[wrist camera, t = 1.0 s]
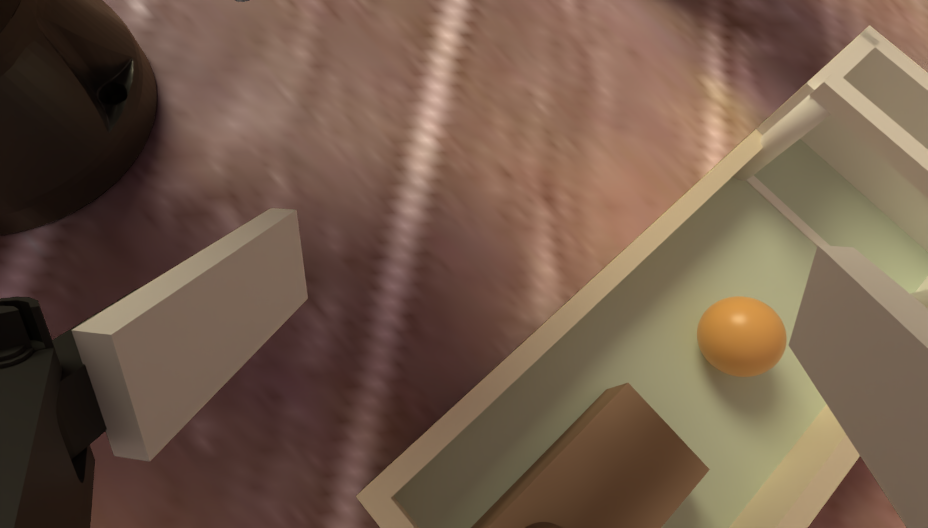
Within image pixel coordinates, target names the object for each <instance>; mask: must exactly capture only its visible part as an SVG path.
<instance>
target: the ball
mask: <svg viewBox="0 0 928 528" xmlns="http://www.w3.org/2000/svg"><path fill="white" fill-rule="evenodd" d="M697 341H698V345H699V348H700V350H701V352H702V354H703V356H704V357H705V358H706V360H707V361H708V362H709V363H710V364H711V365H712V366H714V367H715V368H716V369H718V370H720V371H721V372H724V373H726V374H729V375H732V376H738V377H751V376H756V375H760V374H763V373H765V372H767V371H768V370H770V369H771V368H773V367H774V366H775V365H776V364H777V363H778V362H779V361H780V359H781V358H782V356H783V354H784V351H785V348H786V343H787V335H786V329H785V326H784V324H783V322H782V320H781V318H780V317H779V315H778V314H777V313H776V312H775V311H774V310H773V309H772V308H771V307H770V306H768V305H767V304H765V303H763V302H762V301H759V300H757V299H754V298H750V297H744V296H735V297H728V298H725V299H722V300H720V301H717V302H716V303H714V304H713V305H711V306H710V307H709V308H708V309H707V310H706V311H705V312H704V313H703V315H702V317H701V319H700V321H699V323H698V328H697Z"/></svg>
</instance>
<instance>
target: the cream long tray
mask: <svg viewBox="0 0 928 528" xmlns="http://www.w3.org/2000/svg"><path fill="white" fill-rule="evenodd" d="M818 245H825V246H839V247H854V248H855V249H856V250H857V251H859V252H860V253H861V254H862V255H863V256H865V257H866V258H867V259H868V260H870V261H871V262H872V263H873V264H874V265H876V266H877V267H878V268H879V269H880V270H882V271H883V272H884V273H885V274H887V275H888V276H889V277H890V278H891V279H893V280H894V281H895V282H896V283H897V284H899V285H900V286H901V287H902V288H904V289H905V290H906V291H907V292H908V293H910V294H911V295H912V296H913V297H914V298H916V299H917V300H918V301H919V302H920V303H922V304H923V305H924V306H925V307H927V308H928V73H927V72H926V71H925V70H924V69H923V68H921V67H920V66H919V65H918V64H916V63H915V62H914V61H913V60H912V59H910V58H909V57H908V56H907V55H905V54H904V53H903V52H902V51H900V50H899V49H898V48H897V47H896V46H894V45H893V44H892V43H891V42H889V41H888V40H887V39H886V38H885V37H883V36H882V35H881V34H880V33H878V32H877V31H876V30H875V29H874V28H872V27H871V26H870V25H869V26H868V27H867V28H866V29H865V30H864V31H863V32H862V33H861V34H859V35H858V36H857V37H856V38H855V39H854V40H853V41H852V42H851V43H850V44H848V45H847V46H846V47H845V48H844V49H843V50H842V51H841V52H840V53H839V54H837V55H836V56H835V57H834V58H833V59H832V60H831V61H830V62H829V63H828V64H827V65H825V66H824V67H823V68H822V69H821V70H820V71H819V72H818V73H817V74H816V75H814V76H813V77H812V78H811V79H810V80H809V81H808V82H807V83H806V84H805V85H803V86H802V87H801V88H800V89H799V90H798V91H797V92H796V93H795V94H794V95H792V96H791V97H790V98H789V99H788V100H787V101H786V102H785V103H784V104H783V105H781V106H780V107H779V108H778V109H777V110H776V111H775V112H774V113H773V114H772V115H771V116H769V117H768V118H767V119H766V120H765V121H764V122H763V123H762V124H761V125H760V126H759V127H757V128H756V129H755V130H754V131H753V132H752V133H751V134H750V135H749V136H748V137H747V138H745V139H744V140H743V141H742V142H741V143H740V144H739V145H738V146H737V147H736V148H735V149H733V150H732V151H731V152H730V153H729V154H728V155H727V156H726V157H725V158H724V159H723V160H721V161H720V162H719V163H718V164H717V165H716V166H715V167H714V168H713V169H712V170H711V171H709V172H708V173H707V174H706V175H705V176H704V177H703V178H702V179H701V180H700V181H699V182H697V183H696V184H695V185H694V186H693V187H692V188H691V189H690V190H689V191H688V192H687V193H685V194H684V195H683V196H682V197H681V198H680V199H679V200H678V201H677V202H676V203H675V204H673V205H672V206H671V207H670V208H669V209H668V210H667V211H666V212H665V213H664V214H663V215H661V216H660V217H659V218H658V219H657V220H656V221H655V222H654V223H653V224H652V225H651V226H649V227H648V228H647V229H646V230H645V231H644V232H643V233H642V234H641V235H640V236H639V237H637V238H636V239H635V240H634V241H633V242H632V243H631V244H630V245H629V246H628V247H627V248H625V249H624V250H623V251H622V252H621V253H620V254H619V255H618V256H617V257H616V258H615V259H613V260H612V261H611V262H610V263H609V264H608V265H607V266H606V267H605V268H604V269H603V270H601V271H600V272H599V273H598V274H597V275H596V276H595V277H594V278H593V279H592V280H591V281H589V282H588V283H587V284H586V285H585V286H584V287H583V288H582V289H581V290H580V291H579V292H577V293H576V294H575V295H574V296H573V297H572V298H571V299H570V300H569V301H568V302H567V303H565V304H564V305H563V306H562V307H561V308H560V309H559V310H558V311H557V312H556V313H555V314H553V315H552V316H551V317H550V318H549V319H548V320H547V321H546V322H545V323H544V324H543V325H541V326H540V327H539V328H538V329H537V330H536V331H535V332H534V333H533V334H532V335H531V336H529V337H528V338H527V339H526V340H525V341H524V342H523V343H522V344H521V345H520V346H519V347H517V348H516V349H515V350H514V351H513V352H512V353H511V354H510V355H509V356H508V357H507V358H505V359H504V360H503V361H502V362H501V363H500V364H499V365H498V366H497V367H496V368H495V369H493V370H492V371H491V372H490V373H489V374H488V375H487V376H486V377H485V378H484V379H483V380H482V381H480V382H479V383H478V384H477V385H476V386H475V387H474V388H473V389H472V390H471V391H470V392H468V393H467V394H466V395H465V396H464V397H463V398H462V399H461V400H460V401H459V402H458V403H456V404H455V405H454V406H453V407H452V408H451V409H450V410H449V411H448V412H447V413H446V414H444V415H443V416H442V417H441V418H440V419H439V420H438V421H437V422H436V423H435V424H434V425H432V426H431V427H430V428H429V429H428V430H427V431H426V432H425V433H424V434H423V435H422V436H420V437H419V438H418V439H417V440H416V441H415V442H414V443H413V444H412V445H411V446H410V447H408V448H407V449H406V450H405V451H404V452H403V453H402V454H401V455H400V456H399V457H398V458H396V459H395V460H394V461H393V462H392V463H391V464H390V465H389V466H388V467H387V468H386V469H384V470H383V471H382V472H381V473H380V474H379V475H378V476H377V477H376V478H375V479H374V480H372V481H371V482H370V483H369V484H368V485H367V486H366V487H365V488H364V489H363V490H362V491H361V492H359V493H358V494H357V495H356V498H357V499H358V500H359V501H360V503H361V504H362V505H363V506H364V508H365V509H366V510H367V512H368V513H369V514H370V515H371V517H372V518H373V519H374V520H375V522H376V523H377V524H378V526H379V527H380V528H471V527H472V526H473V525H474V524H475V523H476V522H477V521H478V520H479V519H480V518H481V517H482V516H483V515H484V514H485V513H486V512H487V511H488V510H489V509H490V507H491V506H492V505H493V504H494V503H495V502H496V501H497V500H498V499H499V498H500V497H501V496H502V495H503V494H504V493H505V492H506V491H507V490H508V489H509V488H510V487H511V486H512V485H513V484H514V483H515V482H516V481H517V480H518V479H519V478H520V477H521V476H522V475H523V474H524V473H525V472H526V471H527V470H528V469H529V468H530V467H531V466H532V465H533V464H534V463H535V462H536V461H537V460H538V459H539V457H540V456H541V455H542V454H543V453H544V452H545V451H546V450H547V449H548V448H549V447H550V446H551V445H552V444H553V443H554V442H555V441H556V440H557V439H558V438H559V437H560V436H561V435H562V434H563V433H564V432H565V431H566V430H567V429H568V428H569V427H570V426H571V425H572V424H573V423H574V422H575V421H576V420H577V419H578V418H579V417H580V416H581V415H582V414H583V413H584V412H585V411H586V410H587V409H588V408H589V406H590V405H591V404H592V403H593V402H594V401H595V400H596V399H597V398H598V397H599V396H600V395H601V394H602V393H603V392H604V391H605V390H606V389H609V388H612V387H616V386H619V385H622V384H625V383H629V384H630V385H631V386H632V387H633V388H634V389H635V390H636V391H637V392H638V393H639V394H640V396H641V397H642V398H643V399H644V400H645V401H646V402H647V403H648V404H649V405H650V406H651V407H652V408H653V409H654V410H655V412H656V413H657V414H658V415H659V416H660V417H661V418H662V419H663V420H664V421H665V422H666V423H667V424H668V425H669V426H670V428H671V429H672V430H673V431H674V432H675V433H676V434H677V435H678V436H679V437H680V438H681V439H682V440H683V441H684V442H685V443H686V445H687V446H688V447H689V448H690V449H691V450H692V451H693V452H694V453H695V454H696V455H697V456H698V457H699V458H700V459H701V461H702V462H703V463H704V464H705V465H706V466H707V467H708V468H709V469H710V470H709V471H708V472H707V474H706V475H705V476H704V477H703V478H702V480H701V481H700V482H699V483H698V484H697V486H696V487H695V488H694V489H693V490H692V492H691V493H690V494H689V495H688V496H687V497H686V499H685V500H684V501H683V502H682V503H681V505H680V506H679V507H678V508H677V509H676V511H675V512H674V513H673V514H672V515H671V517H670V518H669V519H668V520H667V521H666V522H665V524H664V525H663V526H662V527H661V528H808V526H809V525H810V524H811V522H812V521H813V520H814V518H815V517H816V516H817V514H818V513H819V511H820V510H821V509H822V507H823V506H824V505H825V503H826V502H827V500H828V499H829V498H830V496H831V495H832V494H833V492H834V491H835V490H836V488H837V487H838V485H839V484H840V483H841V481H842V480H843V479H844V477H845V476H846V475H847V473H848V472H849V470H850V469H851V468H852V466H853V465H854V464H855V462H856V461H857V459H858V458H859V457H860V455H859V453H858V452H857V450H856V449H855V447H854V446H853V444H852V443H851V441H850V439H849V438H848V436H847V435H846V433H845V432H844V430H843V429H842V427H841V426H840V424H839V422H838V421H837V419H836V418H835V416H834V415H833V413H832V412H831V410H830V409H829V407H828V405H827V404H826V402H825V401H824V399H823V398H822V396H821V395H820V393H819V392H818V390H817V388H816V387H815V385H814V384H813V382H812V381H811V379H810V378H809V376H808V375H807V373H806V371H805V370H804V368H803V367H802V365H801V364H800V362H799V361H798V359H797V358H796V356H795V354H794V353H793V351H792V350H791V348H790V347H789V342H790V338H791V335H792V331H793V328H794V324H795V321H796V318H797V314H798V311H799V307H800V304H801V300H802V297H803V294H804V290H805V287H806V283H807V280H808V276H809V273H810V270H811V266H812V263H813V259H814V256H815V252H816V249H817V246H818ZM735 296H744V297H750V298H754V299H757V300H759V301H762V302H763V303H765V304H767V305H768V306H770V307H771V308H772V309H773V310H774V311H775V312H776V313H777V314H778V315H779V317H780V318H781V320H782V322H783V324H784V326H785V329H786V335H787V343H786V348H785V351H784V354H783V356H782V358H781V359H780V361H779V362H778V363H777V364H776V365H775V366H774V367H773V368H771V369H770V370H768V371H767V372H765V373H763V374H760V375H756V376H751V377H738V376H732V375H729V374H726V373H724V372H721V371H720V370H718V369H716V368H715V367H714V366H712V365H711V364H710V363H709V362H708V361H707V360H706V358H705V357H704V356H703V354H702V352H701V350H700V348H699V345H698V341H697V328H698V323H699V321H700V319H701V317H702V315H703V313H704V312H705V311H706V310H707V309H708V308H709V307H710V306H711V305H713V304H714V303H716V302H717V301H720V300H722V299H725V298H728V297H735Z"/></svg>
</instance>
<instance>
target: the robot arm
mask: <svg viewBox="0 0 928 528" xmlns="http://www.w3.org/2000/svg"><path fill="white" fill-rule="evenodd" d="M235 1H237V2H245V1H249V0H235ZM156 105H157V91H156V83H155V78H154V74H153V71H152V68H151V66H150V63H149V61H148V59H147V57H146V55H145V54H144V52H143V51H142V49H141V48H140V46H139V44H138V43H137V41H136V40H135V38H134V37H133V35H132V34H131V32H130V30H129V29H128V27H127V26H126V25H125V23H124V22H123V21H122V19H121V18H120V17H119V16H118V15H117V14H116V13H115V12H114V11H113V10H112V9H111V8H110V7H109V6H108V5H107V4H106V3H105V2H104V1H102V0H0V235H4V234H10V233H16V232H20V231H24V230H29V229H32V228H35V227H39V226H42V225H45V224H48V223H50V222H53V221H55V220H58V219H60V218H63V217H65V216H67V215H69V214H71V213H73V212H75V211H76V210H78V209H80V208H82V207H84V206H85V205H87V204H88V203H90V202H91V201H93V200H94V199H96V198H97V197H99V196H100V195H101V194H103V193H104V192H105V191H106V190H108V189H109V188H110V187H111V186H112V185H113V184H114V183H115V182H116V181H118V180H119V179H120V178H121V177H122V175H123V174H124V173H125V172H126V171H127V170H128V169H129V167H130V166H131V165H132V164H133V162H134V161H135V160H136V158H137V157H138V155H139V154H140V152H141V150H142V149H143V147H144V145H145V143H146V141H147V139H148V137H149V134H150V131H151V129H152V126H153V122H154V118H155V113H156ZM307 299H308V294H307V287H306V279H305V271H304V263H303V256H302V248H301V240H300V232H299V225H298V217H297V210H294V209H280V208H270V209H268V210H267V211H265V212H263V213H262V214H260V215H259V216H257V217H255V218H254V219H252V220H250V221H249V222H247V223H245V224H244V225H242V226H241V227H239V228H237V229H236V230H234V231H232V232H231V233H229V234H228V235H226V236H224V237H223V238H221V239H219V240H218V241H216V242H214V243H213V244H211V245H210V246H208V247H206V248H205V249H203V250H201V251H200V252H198V253H196V254H195V255H193V256H192V257H190V258H188V259H187V260H185V261H183V262H182V263H180V264H179V265H177V266H175V267H174V268H172V269H170V270H169V271H167V272H165V273H164V274H162V275H161V276H159V277H157V278H156V279H154V280H152V281H151V282H149V283H148V284H146V285H144V286H143V287H141V288H138V289H136V290H134V291H132V292H131V293H129V294H127V295H126V296H124V297H122V298H121V299H119V300H118V301H117V302H116V303H113V304H111V305H109V306H108V307H106V308H104V309H103V310H102V312H100V313H96V314H95V315H93V316H91V317H90V318H88V319H86V320H85V321H83V322H81V323H80V324H78V325H77V326H75V327H73V328H72V329H70V330H68V331H67V332H65V333H63V334H62V335H60V336H59V337H57V338H55V339H54V340H52V339H51V336H50V333H49V331H48V328H47V325H46V322H45V319H44V317H43V314H42V311H41V308H40V306H39V303H38V300H35V299H32V298H30V297H11V298H2V299H0V528H90V521H91V508H92V494H93V480H94V466H95V459H94V456H93V453H92V450H91V447H90V444H91V443H92V442H93V441H94V440H95V439H97V438H98V437H99V436H100V435H101V434H102V433H103V432H105V431H106V434H107V437H108V440H109V443H110V446H111V448H112V451H113V454H114V456H118V457H124V458H130V459H136V460H143V461H149V462H150V461H151V460H152V459H153V458H154V457H155V456H156V455H157V454H158V453H159V452H160V451H161V450H162V449H163V448H164V447H165V446H166V444H167V443H168V442H169V441H170V440H171V439H172V438H173V437H174V436H175V435H176V434H177V433H178V432H179V431H180V430H181V429H182V428H183V427H184V426H185V425H186V424H187V423H188V422H189V421H190V420H191V419H192V418H193V417H194V416H195V415H196V414H197V412H198V411H199V410H200V409H201V408H202V407H203V406H204V405H205V404H206V403H207V402H208V401H209V400H210V399H211V398H212V397H213V396H214V395H215V394H216V393H217V392H218V391H219V390H220V389H221V388H222V387H223V386H224V385H225V384H226V383H227V382H228V380H229V379H230V378H231V377H232V376H233V375H234V374H235V373H236V372H237V371H238V370H239V369H240V368H241V367H242V366H243V365H244V364H245V363H246V362H247V361H248V360H249V359H250V358H251V357H252V356H253V355H254V354H255V353H256V352H257V351H258V350H259V349H260V347H261V346H262V345H263V344H264V343H265V342H266V341H267V340H268V339H269V338H270V337H271V336H272V335H273V334H274V333H275V332H276V331H277V330H278V329H279V328H280V327H281V326H282V325H283V324H284V323H285V322H286V321H287V320H288V319H289V318H290V317H291V315H292V314H293V313H294V312H295V311H296V310H297V309H298V308H299V307H300V306H301V305H302V304H303V303H304V302H305V301H306V300H307ZM789 347H790V348H791V350H792V351H793V353H794V354H795V356H796V358H797V359H798V361H799V362H800V364H801V365H802V367H803V368H804V370H805V371H806V373H807V375H808V376H809V378H810V379H811V381H812V382H813V384H814V385H815V387H816V388H817V390H818V392H819V393H820V395H821V396H822V398H823V399H824V401H825V402H826V404H827V405H828V407H829V409H830V410H831V412H832V413H833V415H834V416H835V418H836V419H837V421H838V422H839V424H840V426H841V427H842V429H843V430H844V432H845V433H846V435H847V436H848V438H849V439H850V441H851V443H852V444H853V446H854V447H855V449H856V450H857V452H858V453H859V455H860V456H861V458H862V460H863V461H864V463H865V464H866V466H867V467H868V469H869V470H870V472H871V473H872V475H873V477H874V478H875V480H876V481H877V483H878V484H879V486H880V487H881V489H882V490H883V492H884V493H885V495H886V497H887V498H888V500H889V501H890V503H891V504H892V506H893V507H894V509H895V510H896V512H897V514H898V515H899V517H900V518H901V520H902V521H903V523H904V524H905V526H906V527H907V528H928V308H927V307H925V306H924V305H923V304H922V303H920V302H919V301H918V300H917V299H916V298H914V297H913V296H912V295H911V294H910V293H908V292H907V291H906V290H905V289H904V288H902V287H901V286H900V285H899V284H897V283H896V282H895V281H894V280H893V279H891V278H890V277H889V276H888V275H887V274H885V273H884V272H883V271H882V270H880V269H879V268H878V267H877V266H876V265H874V264H873V263H872V262H871V261H870V260H868V259H867V258H866V257H865V256H863V255H862V254H861V253H860V252H859V251H857V250H856V249H855V248H854V247H839V246H825V245H818V246H817V249H816V252H815V256H814V259H813V263H812V266H811V270H810V273H809V276H808V280H807V283H806V287H805V290H804V294H803V297H802V300H801V304H800V307H799V311H798V314H797V318H796V321H795V324H794V328H793V331H792V335H791V338H790V342H789Z"/></svg>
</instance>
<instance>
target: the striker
mask: <svg viewBox="0 0 928 528" xmlns="http://www.w3.org/2000/svg"><path fill="white" fill-rule="evenodd" d="M709 470H710V469H709V468H708V467H707V466H706V465H705V464H704V463H703V462H702V461H701V459H700V458H699V457H698V456H697V455H696V454H695V453H694V452H693V451H692V450H691V449H690V448H689V447H688V446H687V445H686V443H685V442H684V441H683V440H682V439H681V438H680V437H679V436H678V435H677V434H676V433H675V432H674V431H673V430H672V429H671V428H670V426H669V425H668V424H667V423H666V422H665V421H664V420H663V419H662V418H661V417H660V416H659V415H658V414H657V413H656V412H655V410H654V409H653V408H652V407H651V406H650V405H649V404H648V403H647V402H646V401H645V400H644V399H643V398H642V397H641V396H640V394H639V393H638V392H637V391H636V390H635V389H634V388H633V387H632V386H631V385H630V384H629V383H625V384H622V385H619V386H616V387H612V388H609V389H606V390H605V391H604V392H603V393H602V394H601V395H600V396H599V397H598V398H597V399H596V400H595V401H594V402H593V403H592V404H591V405H590V406H589V408H588V409H587V410H586V411H585V412H584V413H583V414H582V415H581V416H580V417H579V418H578V419H577V420H576V421H575V422H574V423H573V424H572V425H571V426H570V427H569V428H568V429H567V430H566V431H565V432H564V433H563V434H562V435H561V436H560V437H559V438H558V439H557V440H556V441H555V442H554V443H553V444H552V445H551V446H550V447H549V448H548V449H547V450H546V451H545V452H544V453H543V454H542V455H541V456H540V457H539V459H538V460H537V461H536V462H535V463H534V464H533V465H532V466H531V467H530V468H529V469H528V470H527V471H526V472H525V473H524V474H523V475H522V476H521V477H520V478H519V479H518V480H517V481H516V482H515V483H514V484H513V485H512V486H511V487H510V488H509V489H508V490H507V491H506V492H505V493H504V494H503V495H502V496H501V497H500V498H499V499H498V500H497V501H496V502H495V503H494V504H493V505H492V506H491V507H490V509H489V510H488V511H487V512H486V513H485V514H484V515H483V516H482V517H481V518H480V519H479V520H478V521H477V522H476V523H475V524H474V525H473V526H472V527H471V528H661V527H662V526H663V525H664V524H665V522H666V521H667V520H668V519H669V518H670V517H671V515H672V514H673V513H674V512H675V511H676V509H677V508H678V507H679V506H680V505H681V503H682V502H683V501H684V500H685V499H686V497H687V496H688V495H689V494H690V493H691V492H692V490H693V489H694V488H695V487H696V486H697V484H698V483H699V482H700V481H701V480H702V478H703V477H704V476H705V475H706V474H707V472H708V471H709Z"/></svg>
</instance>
